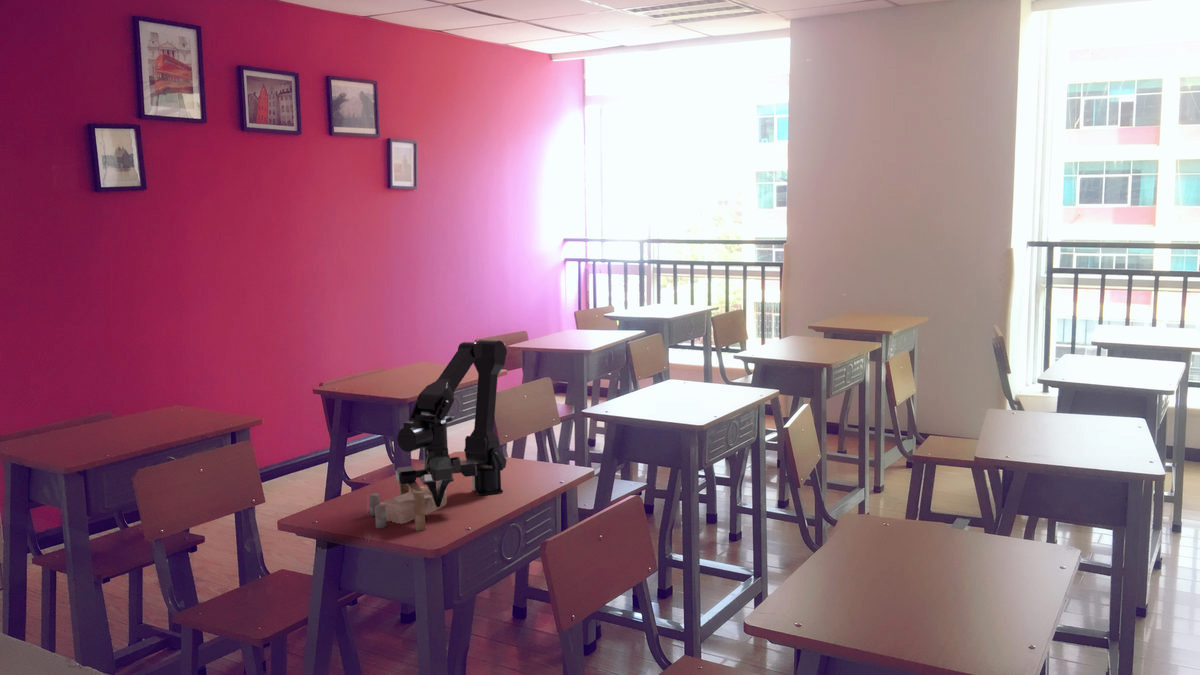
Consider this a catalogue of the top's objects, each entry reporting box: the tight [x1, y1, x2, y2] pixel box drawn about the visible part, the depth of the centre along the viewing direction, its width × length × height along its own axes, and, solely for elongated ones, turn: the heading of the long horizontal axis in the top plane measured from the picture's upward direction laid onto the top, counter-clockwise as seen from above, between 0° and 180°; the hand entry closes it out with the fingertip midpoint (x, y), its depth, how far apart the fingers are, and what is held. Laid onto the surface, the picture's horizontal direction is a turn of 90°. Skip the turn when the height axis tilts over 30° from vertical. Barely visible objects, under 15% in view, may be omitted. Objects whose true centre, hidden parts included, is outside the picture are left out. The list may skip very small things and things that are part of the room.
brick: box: [379, 486, 448, 525], centre depth 226 cm, size 17×8×5 cm, turn 150°
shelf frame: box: [368, 480, 426, 532], centre depth 221 cm, size 10×23×9 cm, turn 21°
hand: (438, 506), depth 225 cm, fingers closed
